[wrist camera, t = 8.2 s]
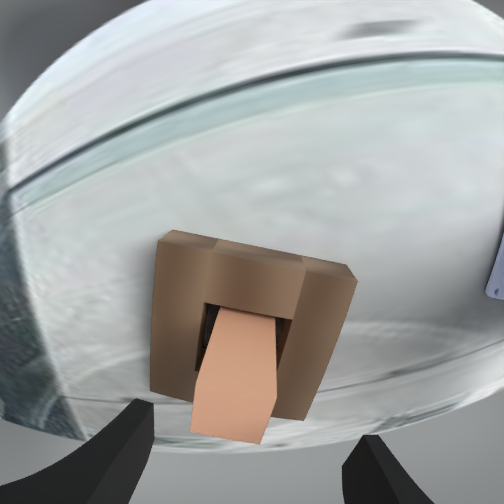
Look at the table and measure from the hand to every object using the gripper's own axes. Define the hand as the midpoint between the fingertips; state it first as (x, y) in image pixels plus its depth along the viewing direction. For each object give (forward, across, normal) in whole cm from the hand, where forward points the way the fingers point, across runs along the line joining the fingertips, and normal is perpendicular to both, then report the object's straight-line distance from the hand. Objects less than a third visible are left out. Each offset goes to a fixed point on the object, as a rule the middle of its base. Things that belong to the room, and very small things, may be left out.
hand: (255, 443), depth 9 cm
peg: (+10, +1, +1) cm, 10 cm away
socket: (+10, +1, +1) cm, 10 cm away
